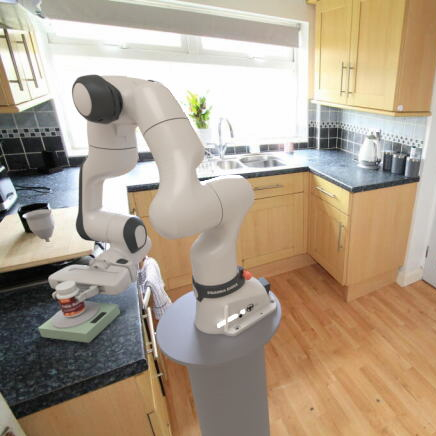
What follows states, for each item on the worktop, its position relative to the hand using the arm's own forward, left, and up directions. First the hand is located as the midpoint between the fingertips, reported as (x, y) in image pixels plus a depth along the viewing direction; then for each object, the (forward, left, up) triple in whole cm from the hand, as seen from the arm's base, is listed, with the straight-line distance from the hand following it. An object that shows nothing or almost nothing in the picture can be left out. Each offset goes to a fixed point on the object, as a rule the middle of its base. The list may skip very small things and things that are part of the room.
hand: (66, 298), depth 80 cm
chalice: (+4, -43, -9) cm, 45 cm away
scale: (-1, 0, -9) cm, 9 cm away
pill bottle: (-1, -1, -5) cm, 5 cm away
